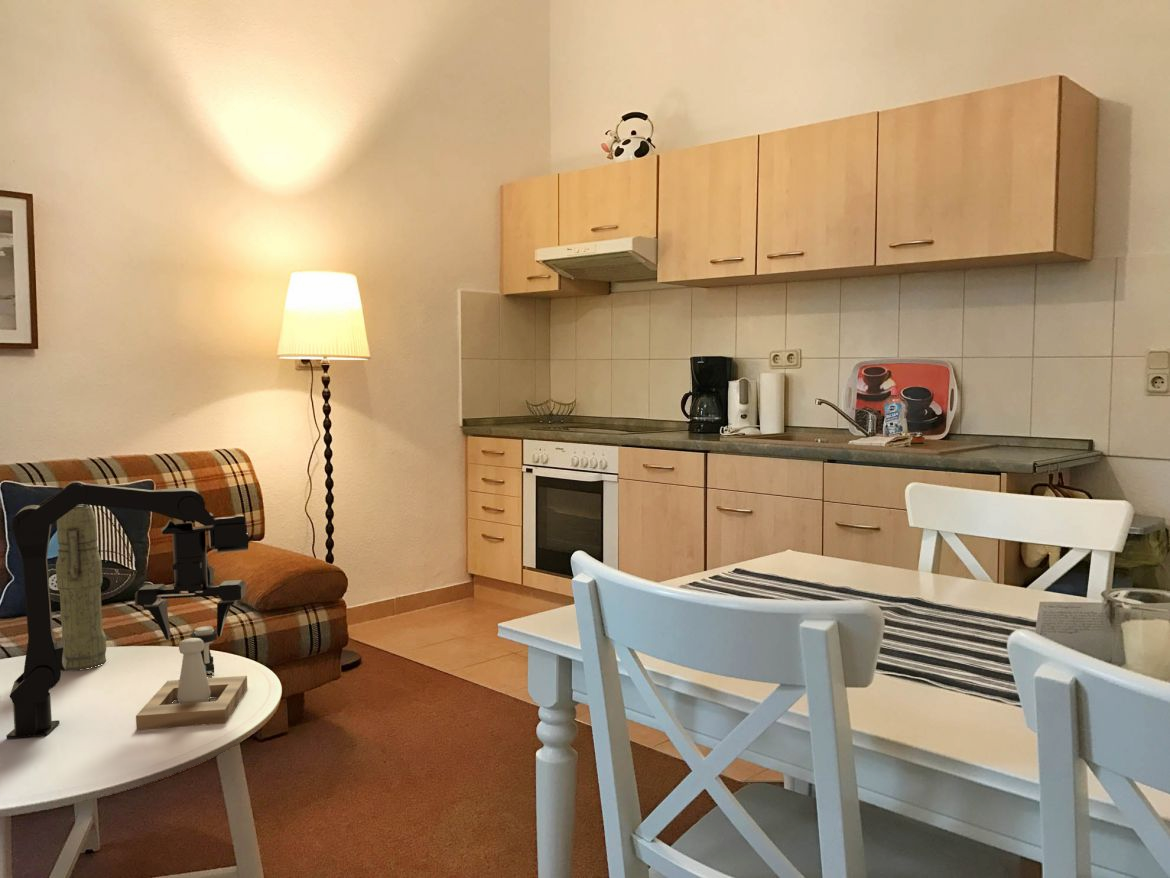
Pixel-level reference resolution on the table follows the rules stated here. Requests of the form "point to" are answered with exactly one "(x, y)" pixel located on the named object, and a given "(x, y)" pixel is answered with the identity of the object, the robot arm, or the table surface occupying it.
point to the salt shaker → (193, 673)
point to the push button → (206, 646)
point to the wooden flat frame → (192, 705)
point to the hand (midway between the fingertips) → (193, 637)
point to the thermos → (80, 589)
